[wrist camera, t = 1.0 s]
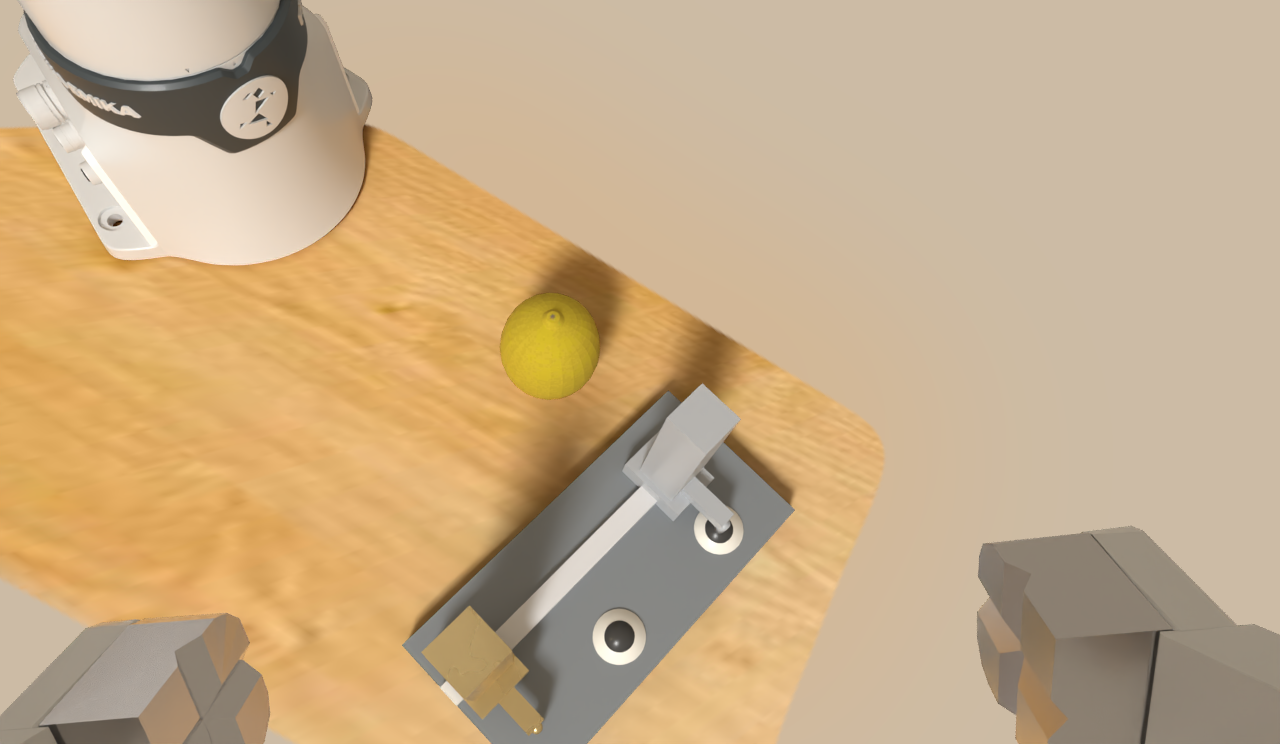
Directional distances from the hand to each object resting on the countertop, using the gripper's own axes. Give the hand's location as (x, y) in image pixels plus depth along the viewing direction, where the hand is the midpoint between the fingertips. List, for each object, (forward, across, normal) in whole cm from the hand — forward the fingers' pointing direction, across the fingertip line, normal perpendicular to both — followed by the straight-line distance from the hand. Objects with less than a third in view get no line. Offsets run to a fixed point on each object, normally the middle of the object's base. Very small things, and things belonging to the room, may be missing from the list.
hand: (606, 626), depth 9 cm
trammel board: (+31, +5, +21) cm, 38 cm away
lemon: (+39, +8, +12) cm, 42 cm away
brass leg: (+25, +10, +23) cm, 35 cm away
